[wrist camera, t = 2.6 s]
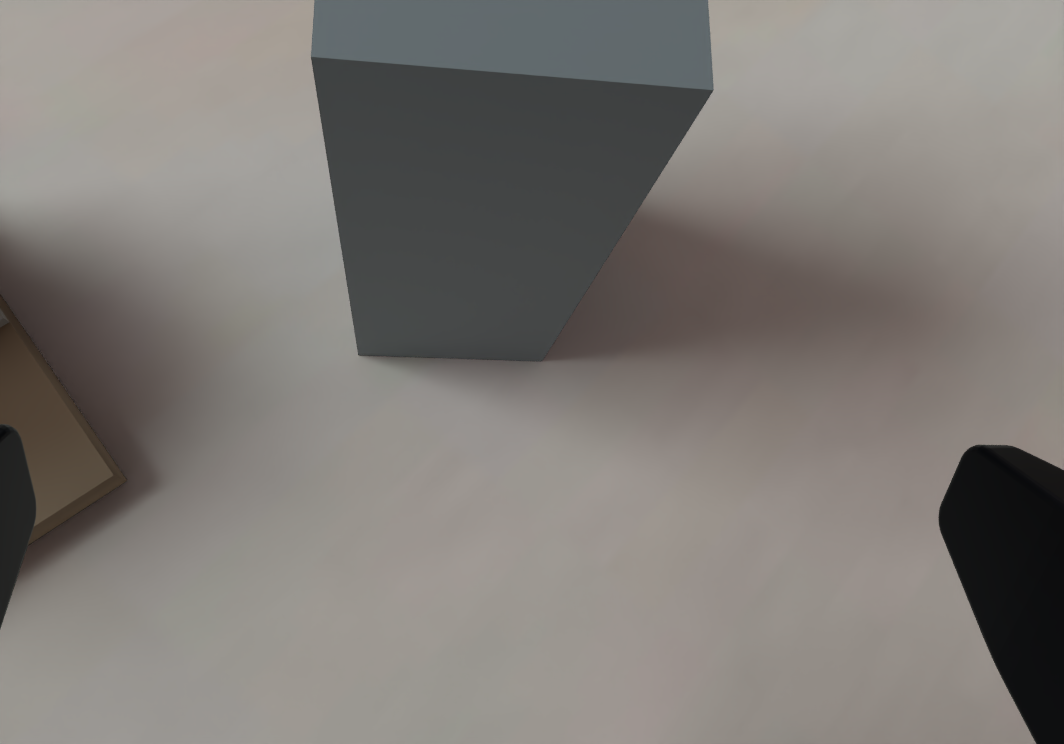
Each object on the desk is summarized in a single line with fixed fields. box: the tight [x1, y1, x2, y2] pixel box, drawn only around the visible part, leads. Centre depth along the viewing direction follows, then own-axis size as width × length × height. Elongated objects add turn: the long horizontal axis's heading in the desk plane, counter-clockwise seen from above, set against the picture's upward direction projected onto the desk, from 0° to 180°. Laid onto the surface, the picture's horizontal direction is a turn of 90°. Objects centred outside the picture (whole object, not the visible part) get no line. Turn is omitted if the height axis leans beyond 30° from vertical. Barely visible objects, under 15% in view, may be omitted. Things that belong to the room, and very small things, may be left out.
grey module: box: [311, 0, 714, 361], centre depth 16 cm, size 5×5×12 cm
